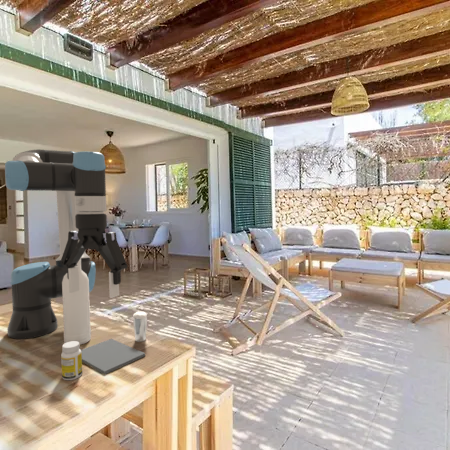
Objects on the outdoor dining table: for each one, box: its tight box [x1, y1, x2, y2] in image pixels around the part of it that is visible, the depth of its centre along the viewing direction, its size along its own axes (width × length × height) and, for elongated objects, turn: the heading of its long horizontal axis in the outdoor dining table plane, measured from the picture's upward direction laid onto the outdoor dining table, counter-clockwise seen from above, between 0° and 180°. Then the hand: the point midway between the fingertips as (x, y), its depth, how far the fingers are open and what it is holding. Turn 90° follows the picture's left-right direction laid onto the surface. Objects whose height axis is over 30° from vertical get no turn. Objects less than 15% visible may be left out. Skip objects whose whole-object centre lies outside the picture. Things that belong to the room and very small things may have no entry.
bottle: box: [62, 258, 92, 346], centre depth 106 cm, size 8×8×30 cm
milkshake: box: [132, 309, 150, 343], centre depth 107 cm, size 5×5×10 cm
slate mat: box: [80, 338, 146, 375], centre depth 96 cm, size 17×13×1 cm
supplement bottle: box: [60, 341, 83, 381], centre depth 85 cm, size 5×5×8 cm
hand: (93, 294), depth 86 cm, fingers open, 13 cm apart
